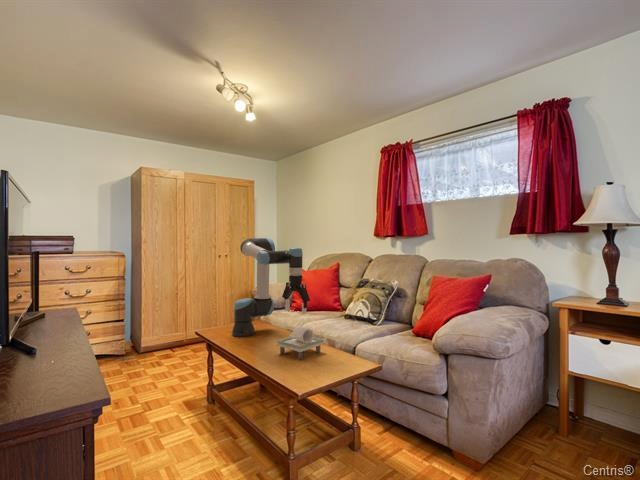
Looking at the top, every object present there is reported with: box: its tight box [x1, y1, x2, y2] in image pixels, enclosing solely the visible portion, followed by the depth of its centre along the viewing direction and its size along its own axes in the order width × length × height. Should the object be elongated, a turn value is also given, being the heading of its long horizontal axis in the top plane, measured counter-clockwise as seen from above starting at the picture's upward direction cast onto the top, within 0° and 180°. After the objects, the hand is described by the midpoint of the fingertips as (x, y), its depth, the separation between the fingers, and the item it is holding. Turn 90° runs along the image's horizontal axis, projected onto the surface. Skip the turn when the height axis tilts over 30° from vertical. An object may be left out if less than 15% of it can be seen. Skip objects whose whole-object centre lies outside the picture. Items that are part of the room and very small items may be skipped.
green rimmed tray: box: [276, 336, 324, 361], centre depth 190 cm, size 18×18×7 cm
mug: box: [288, 325, 315, 344], centre depth 190 cm, size 12×10×8 cm
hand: (295, 312), depth 196 cm, fingers open, 13 cm apart
